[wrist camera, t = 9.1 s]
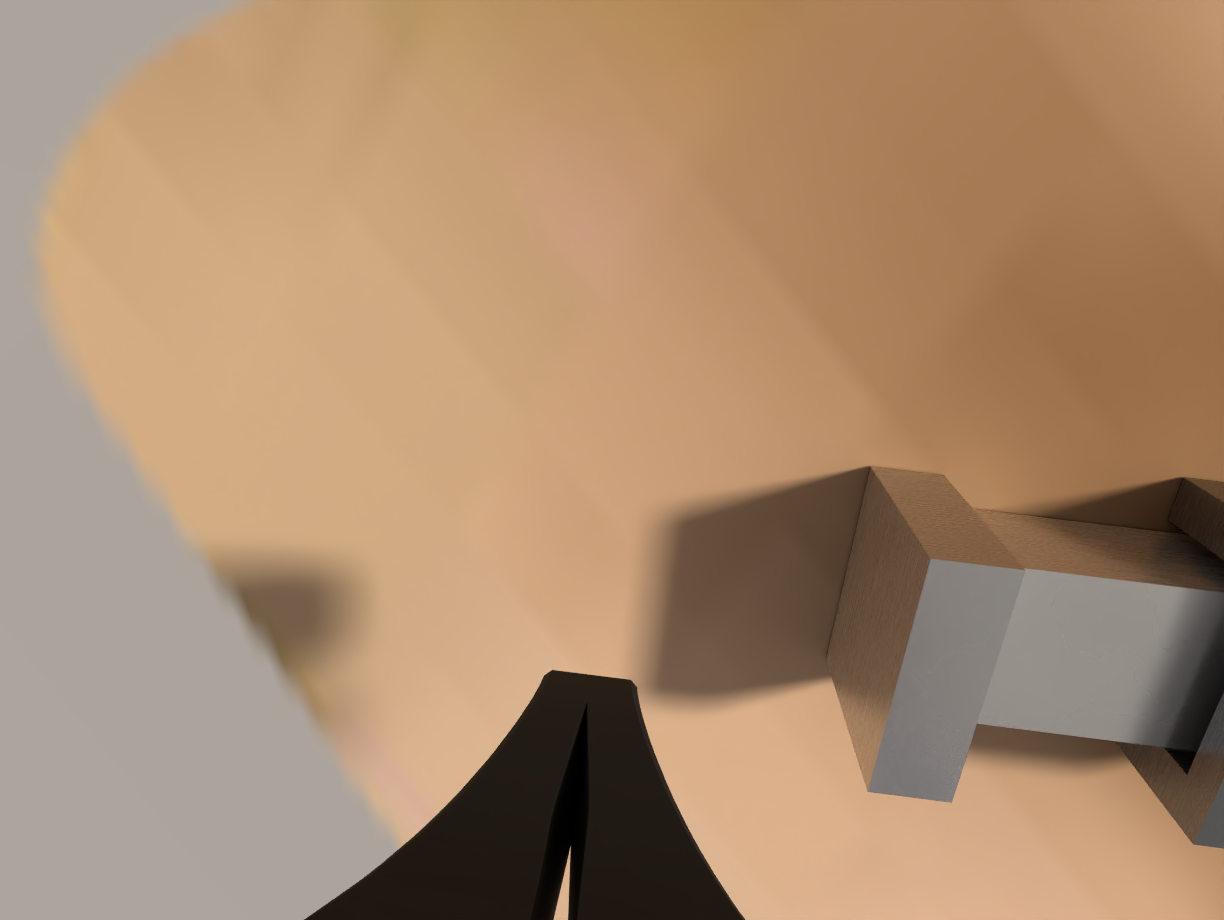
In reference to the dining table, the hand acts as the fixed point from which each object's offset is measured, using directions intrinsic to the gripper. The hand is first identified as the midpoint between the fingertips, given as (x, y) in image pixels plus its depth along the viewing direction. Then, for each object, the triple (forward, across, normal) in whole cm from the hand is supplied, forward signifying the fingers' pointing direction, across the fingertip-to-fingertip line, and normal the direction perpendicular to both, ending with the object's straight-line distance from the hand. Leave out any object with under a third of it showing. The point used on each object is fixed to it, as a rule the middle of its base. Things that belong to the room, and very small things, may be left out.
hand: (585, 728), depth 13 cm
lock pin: (+7, -12, 0) cm, 14 cm away
